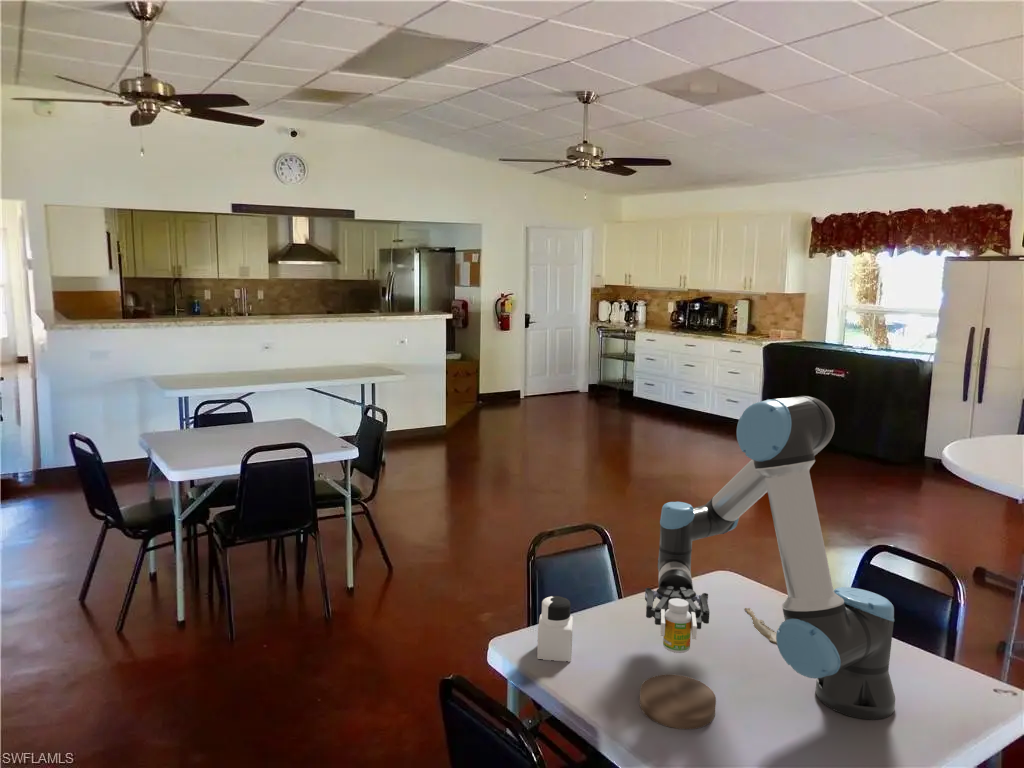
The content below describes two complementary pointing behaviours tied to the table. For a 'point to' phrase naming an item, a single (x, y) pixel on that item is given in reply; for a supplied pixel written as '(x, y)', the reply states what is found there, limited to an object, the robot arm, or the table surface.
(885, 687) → the robot arm
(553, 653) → the container
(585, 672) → the table surface
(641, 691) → the walnut base
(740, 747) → the table surface
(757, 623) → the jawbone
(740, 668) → the table surface
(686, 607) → the supplement bottle
